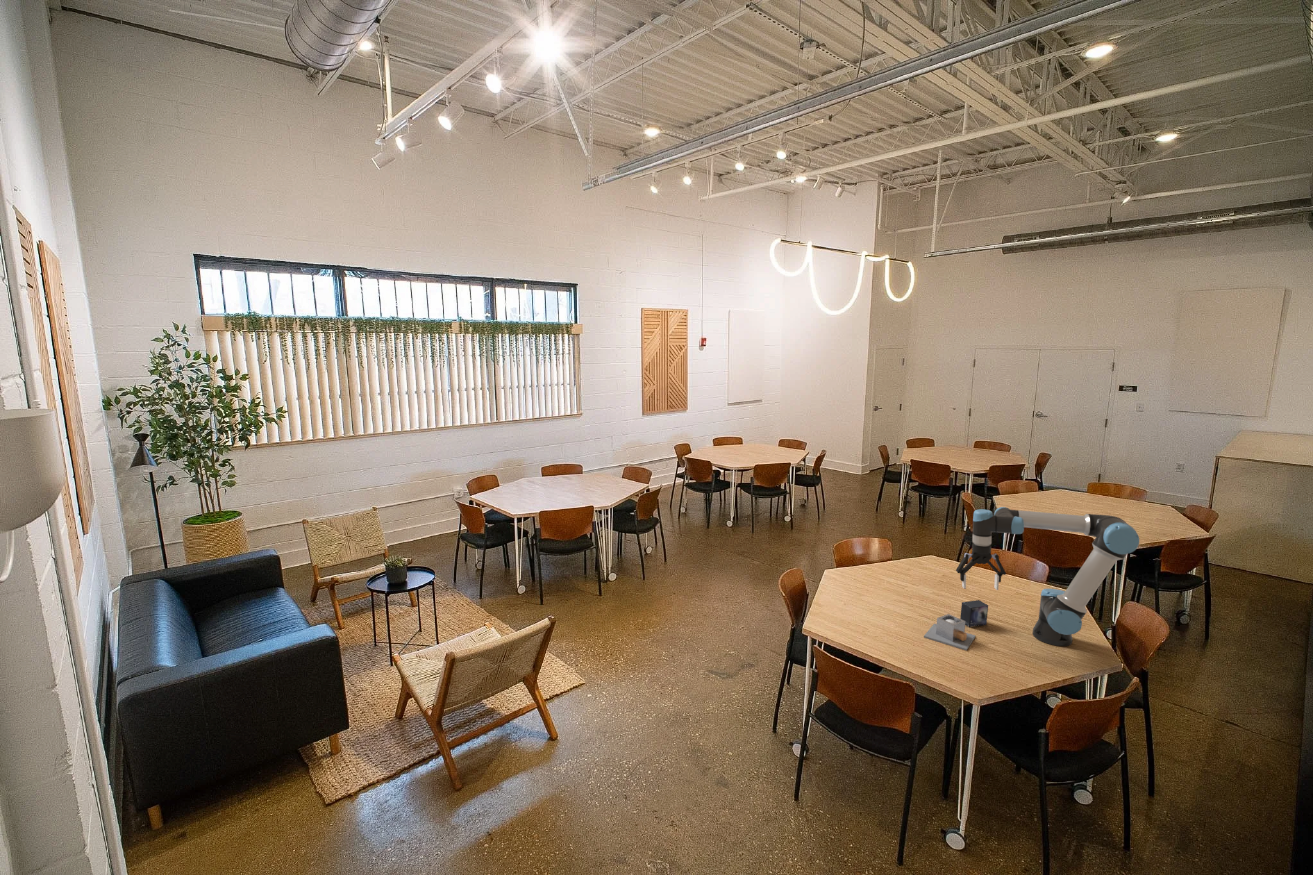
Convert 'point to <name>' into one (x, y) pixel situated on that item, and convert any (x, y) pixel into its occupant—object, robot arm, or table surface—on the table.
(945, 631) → the collar
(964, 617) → the small box
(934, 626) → the grey base with peg
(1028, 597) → the table surface
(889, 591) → the table surface
